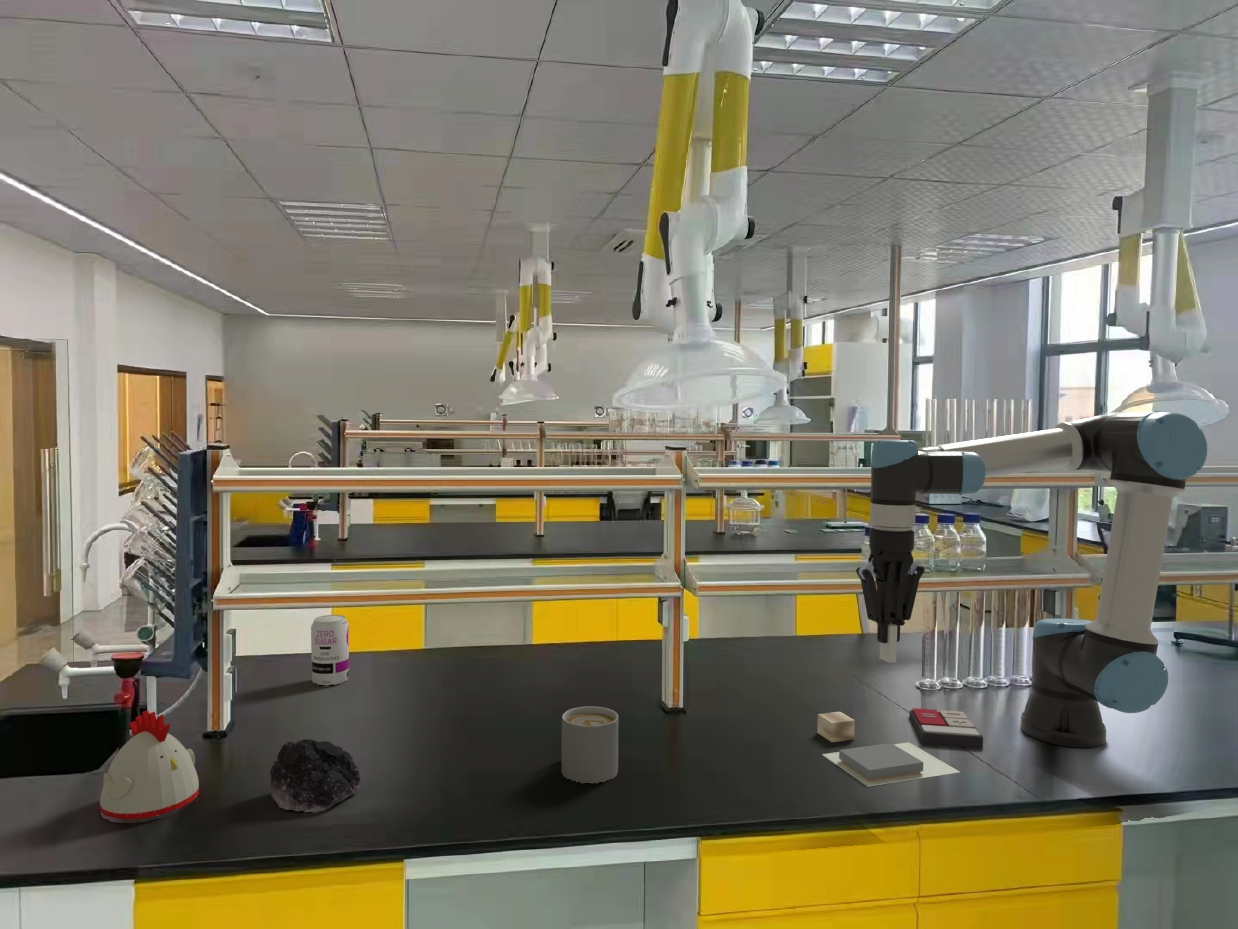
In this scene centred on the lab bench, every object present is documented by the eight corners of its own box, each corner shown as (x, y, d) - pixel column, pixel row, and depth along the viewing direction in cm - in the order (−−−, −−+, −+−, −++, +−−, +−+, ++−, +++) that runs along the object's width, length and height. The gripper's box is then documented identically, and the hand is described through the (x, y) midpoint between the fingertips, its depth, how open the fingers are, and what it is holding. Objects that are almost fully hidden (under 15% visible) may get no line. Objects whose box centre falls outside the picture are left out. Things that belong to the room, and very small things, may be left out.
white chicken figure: (141, 831, 126) (139, 733, 125) (79, 814, 131) (77, 719, 130) (218, 793, 138) (216, 704, 138) (159, 778, 144) (157, 692, 143)
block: (839, 736, 166) (839, 711, 166) (854, 745, 161) (854, 720, 161) (817, 739, 164) (817, 714, 164) (831, 749, 159) (832, 723, 159)
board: (908, 748, 160) (908, 742, 160) (960, 778, 146) (960, 772, 146) (821, 760, 154) (821, 754, 154) (867, 793, 140) (867, 786, 140)
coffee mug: (621, 782, 144) (621, 725, 143) (563, 785, 143) (563, 727, 142) (612, 751, 157) (612, 699, 156) (559, 753, 156) (559, 700, 155)
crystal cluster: (374, 801, 138) (376, 740, 138) (294, 822, 128) (296, 756, 128) (334, 782, 147) (336, 725, 147) (257, 801, 137) (259, 739, 138)
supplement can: (344, 674, 202) (343, 612, 201) (352, 684, 195) (351, 620, 194) (308, 679, 198) (308, 616, 197) (316, 689, 191) (315, 624, 190)
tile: (890, 743, 154) (839, 750, 151) (923, 762, 146) (869, 770, 142) (890, 753, 154) (838, 761, 151) (923, 773, 146) (869, 781, 142)
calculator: (965, 710, 172) (983, 733, 157) (964, 731, 172) (983, 756, 157) (909, 706, 174) (922, 729, 159) (908, 726, 174) (921, 751, 159)
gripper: (908, 523, 153) (904, 651, 154) (847, 526, 148) (843, 657, 150) (937, 529, 146) (932, 663, 147) (873, 531, 141) (869, 669, 143)
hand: (887, 660), depth 148 cm, fingers closed
